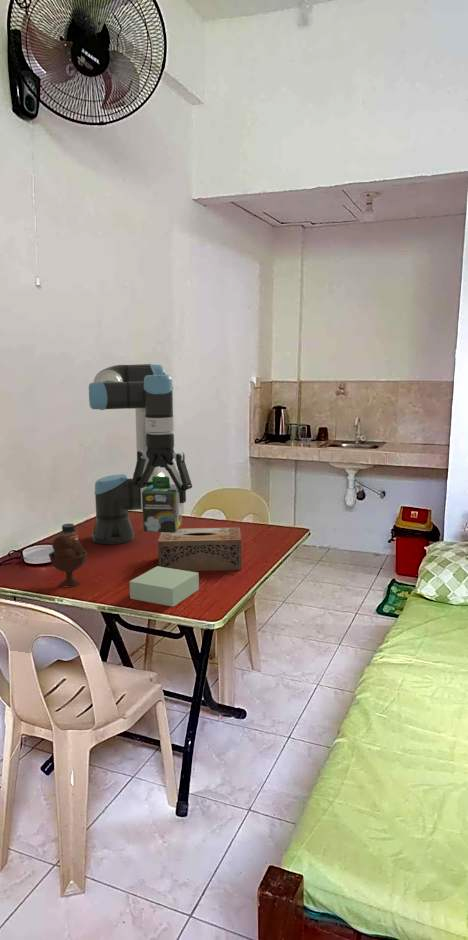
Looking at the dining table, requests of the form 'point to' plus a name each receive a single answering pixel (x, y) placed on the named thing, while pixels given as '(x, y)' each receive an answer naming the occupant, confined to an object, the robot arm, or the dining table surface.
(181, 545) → the tissue box cover
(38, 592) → the dining table surface
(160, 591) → the plinth
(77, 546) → the ice cream bowl
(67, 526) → the supplement bottle
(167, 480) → the chalk box
